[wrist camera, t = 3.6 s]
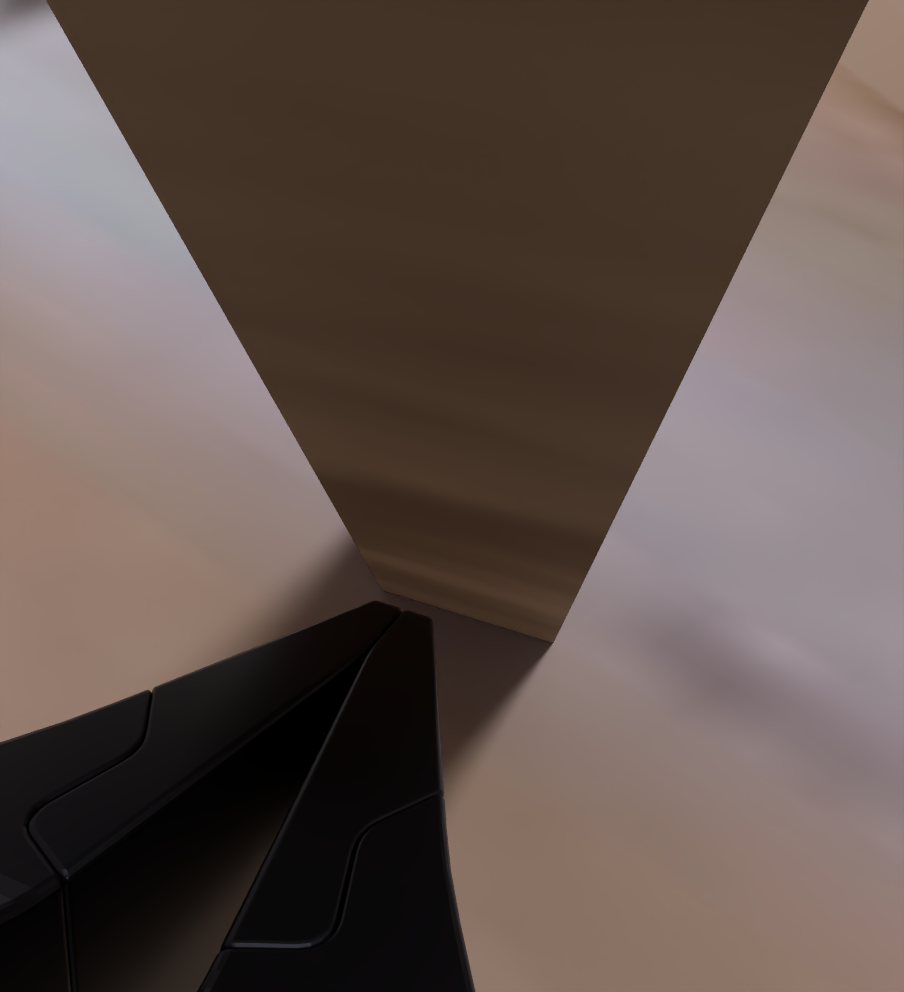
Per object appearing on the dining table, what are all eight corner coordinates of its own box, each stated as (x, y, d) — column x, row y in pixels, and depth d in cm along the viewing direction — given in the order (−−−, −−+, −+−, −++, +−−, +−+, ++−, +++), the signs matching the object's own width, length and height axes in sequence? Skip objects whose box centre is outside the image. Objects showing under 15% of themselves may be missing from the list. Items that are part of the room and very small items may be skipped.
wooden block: (554, 645, 16) (1057, -337, 2) (379, 591, 16) (-193, -384, 3) (596, 481, 17) (1020, -663, 4) (436, 439, 18) (271, -635, 4)
